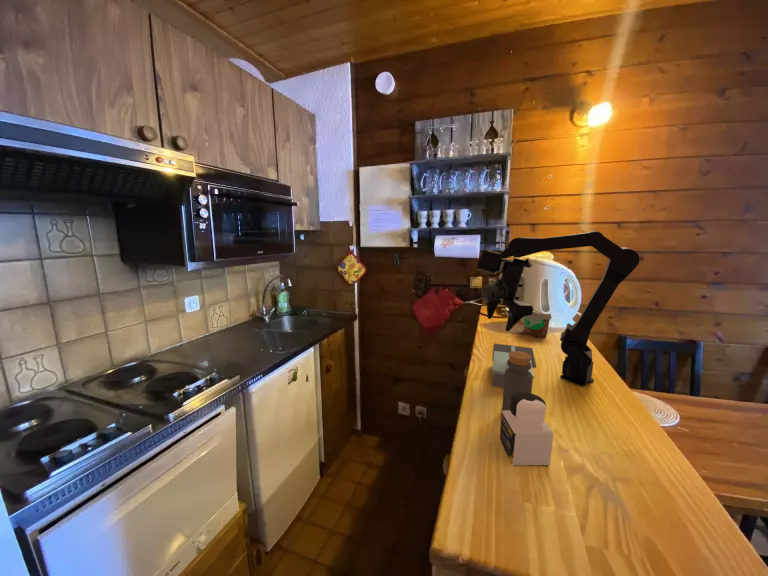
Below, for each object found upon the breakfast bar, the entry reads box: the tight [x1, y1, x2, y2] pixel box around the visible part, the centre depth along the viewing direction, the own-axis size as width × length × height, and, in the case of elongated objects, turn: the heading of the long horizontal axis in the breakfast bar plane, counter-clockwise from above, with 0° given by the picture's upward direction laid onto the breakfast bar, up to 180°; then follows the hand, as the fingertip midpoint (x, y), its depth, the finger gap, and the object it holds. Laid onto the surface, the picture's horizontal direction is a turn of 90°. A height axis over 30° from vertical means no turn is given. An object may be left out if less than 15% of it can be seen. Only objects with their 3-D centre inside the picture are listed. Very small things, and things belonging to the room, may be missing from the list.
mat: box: [492, 343, 537, 368], centre depth 108 cm, size 16×13×1 cm
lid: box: [492, 345, 535, 380], centre depth 91 cm, size 14×10×6 cm
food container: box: [522, 310, 552, 339], centre depth 127 cm, size 12×6×10 cm, turn 25°
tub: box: [491, 373, 534, 393], centre depth 92 cm, size 14×10×4 cm
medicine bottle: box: [499, 392, 554, 466], centre depth 61 cm, size 7×7×12 cm
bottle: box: [501, 351, 533, 412], centre depth 73 cm, size 6×6×15 cm
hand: (497, 324), depth 100 cm, fingers open, 9 cm apart
